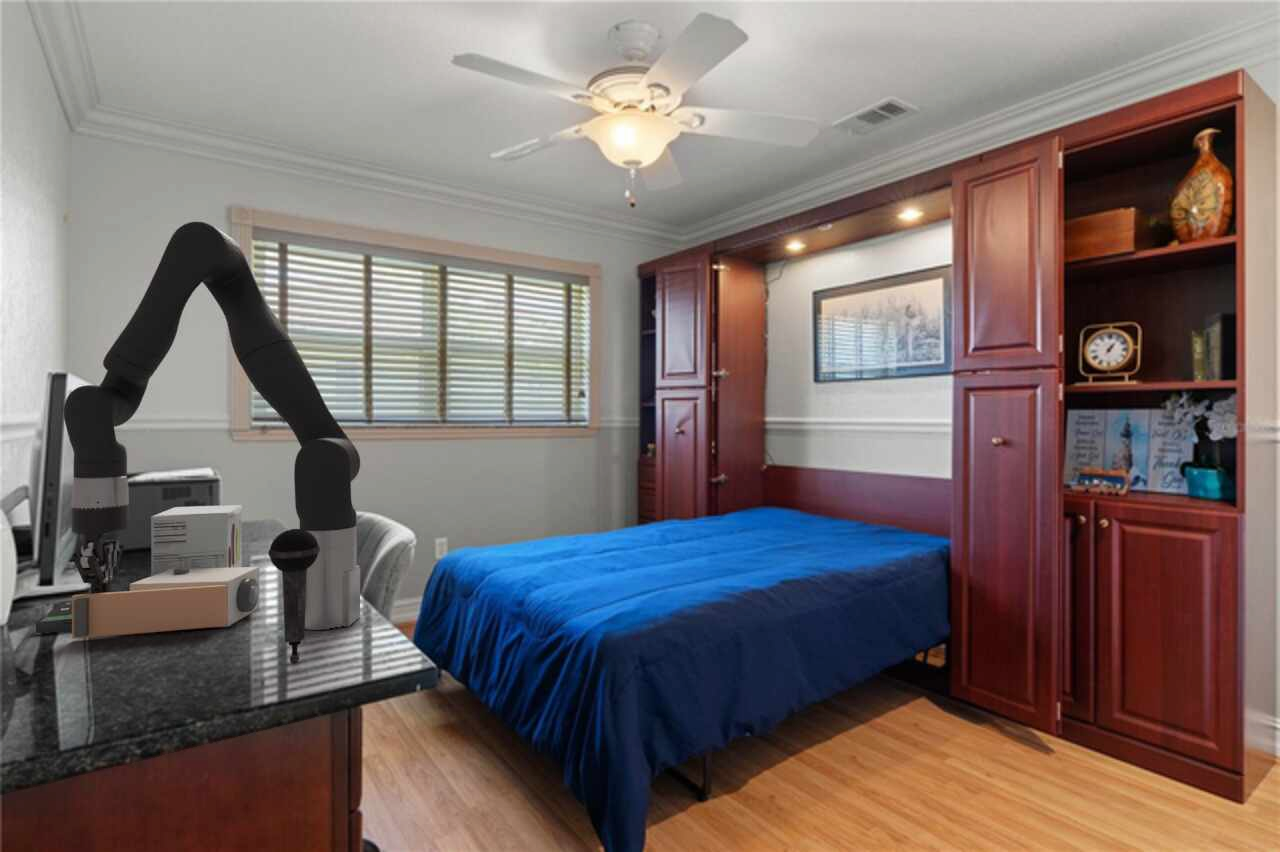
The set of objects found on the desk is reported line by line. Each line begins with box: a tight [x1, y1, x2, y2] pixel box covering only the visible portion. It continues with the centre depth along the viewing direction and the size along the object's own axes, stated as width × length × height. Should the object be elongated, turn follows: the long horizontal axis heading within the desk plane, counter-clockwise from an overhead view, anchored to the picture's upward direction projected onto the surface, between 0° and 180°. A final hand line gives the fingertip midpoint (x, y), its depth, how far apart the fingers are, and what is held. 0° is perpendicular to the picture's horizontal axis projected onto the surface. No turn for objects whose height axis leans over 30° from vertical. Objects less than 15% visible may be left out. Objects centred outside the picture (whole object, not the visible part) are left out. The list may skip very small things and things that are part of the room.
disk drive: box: [35, 600, 72, 634], centre depth 120 cm, size 10×3×15 cm
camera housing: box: [129, 566, 260, 628], centre depth 120 cm, size 18×12×9 cm
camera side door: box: [71, 585, 227, 640], centre depth 111 cm, size 22×2×7 cm, turn 108°
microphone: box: [267, 528, 320, 664], centre depth 98 cm, size 7×7×20 cm
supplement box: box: [150, 504, 243, 577], centre depth 137 cm, size 17×13×18 cm
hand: (100, 604), depth 111 cm, fingers closed
